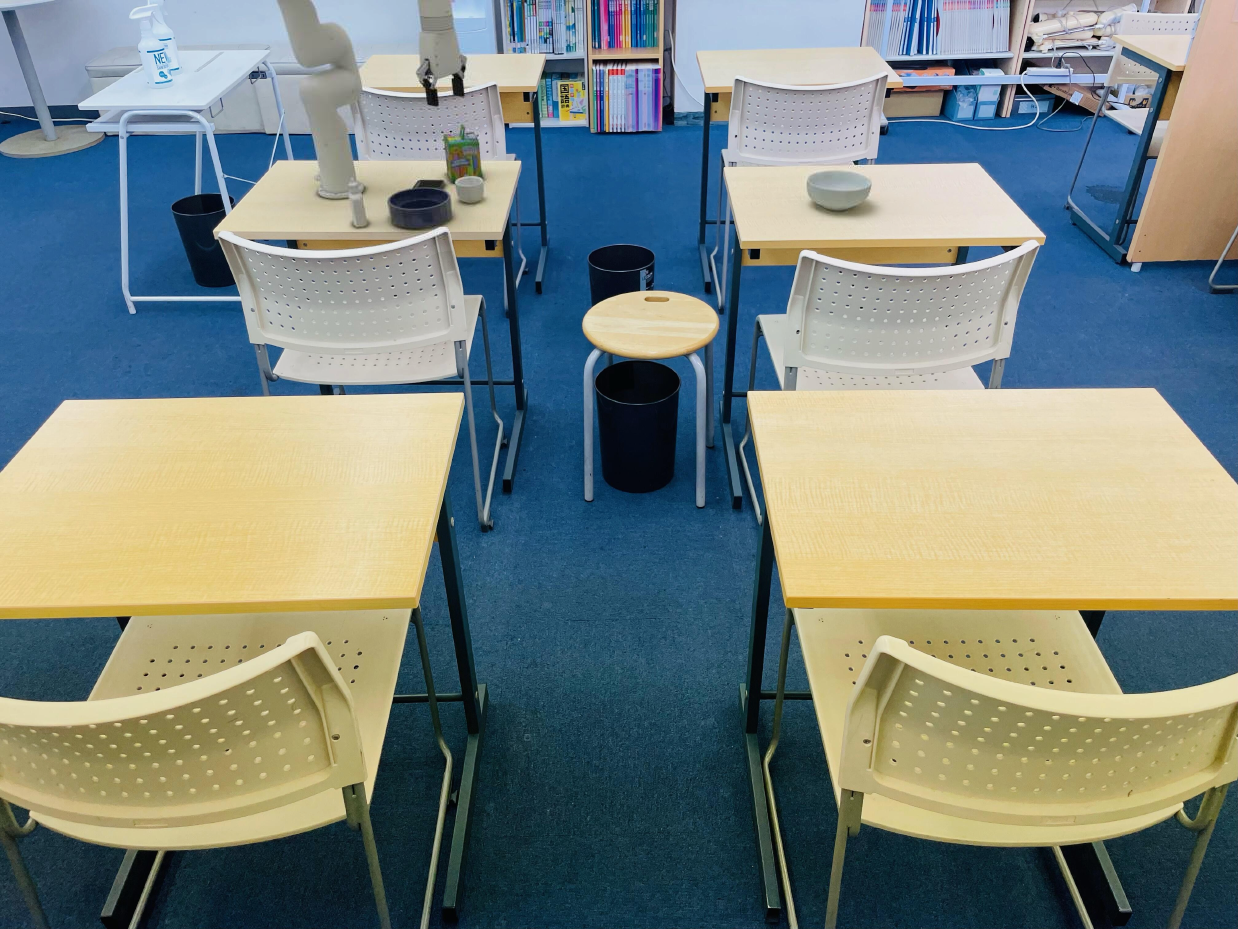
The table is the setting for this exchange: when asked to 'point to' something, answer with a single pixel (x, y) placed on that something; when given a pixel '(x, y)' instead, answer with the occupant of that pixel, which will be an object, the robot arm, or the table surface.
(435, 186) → the phone
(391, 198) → the bowl
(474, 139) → the chalk box
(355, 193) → the eye dropper bottle
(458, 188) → the teacup
